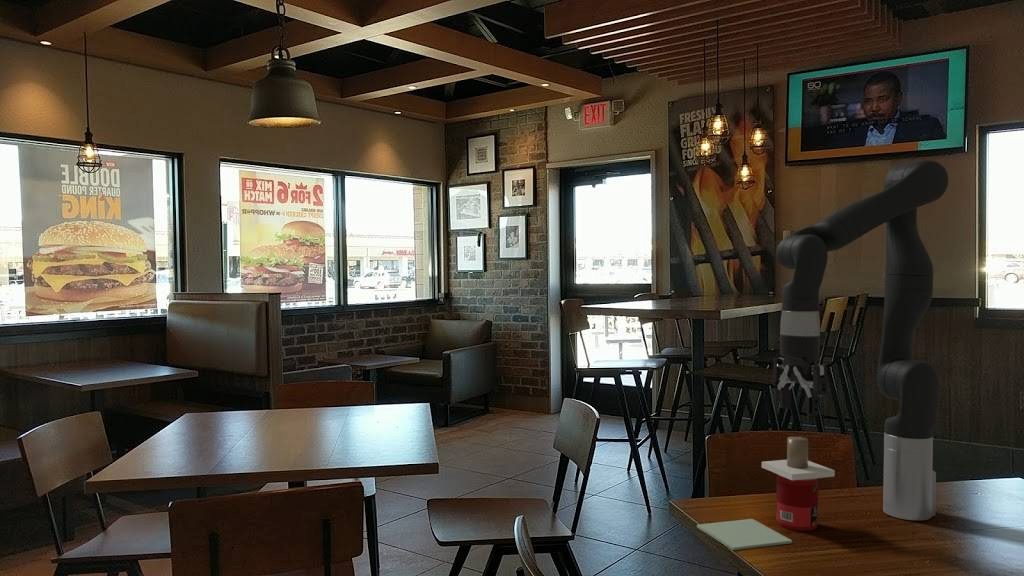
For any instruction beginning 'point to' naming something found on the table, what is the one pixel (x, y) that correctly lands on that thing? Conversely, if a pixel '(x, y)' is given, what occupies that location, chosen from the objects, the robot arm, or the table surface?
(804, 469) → the lid
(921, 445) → the robot arm
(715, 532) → the mat
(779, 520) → the canned food
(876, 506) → the table surface
